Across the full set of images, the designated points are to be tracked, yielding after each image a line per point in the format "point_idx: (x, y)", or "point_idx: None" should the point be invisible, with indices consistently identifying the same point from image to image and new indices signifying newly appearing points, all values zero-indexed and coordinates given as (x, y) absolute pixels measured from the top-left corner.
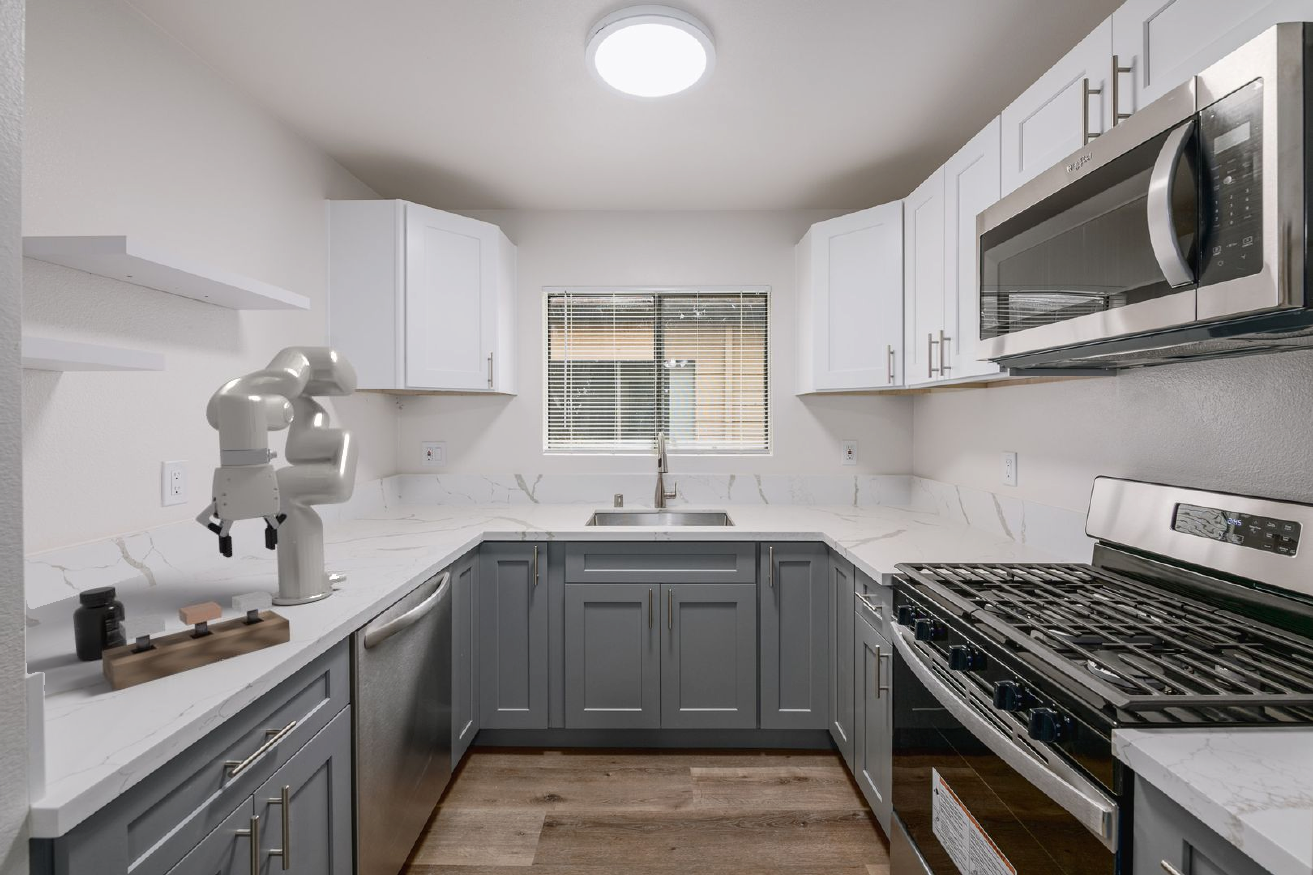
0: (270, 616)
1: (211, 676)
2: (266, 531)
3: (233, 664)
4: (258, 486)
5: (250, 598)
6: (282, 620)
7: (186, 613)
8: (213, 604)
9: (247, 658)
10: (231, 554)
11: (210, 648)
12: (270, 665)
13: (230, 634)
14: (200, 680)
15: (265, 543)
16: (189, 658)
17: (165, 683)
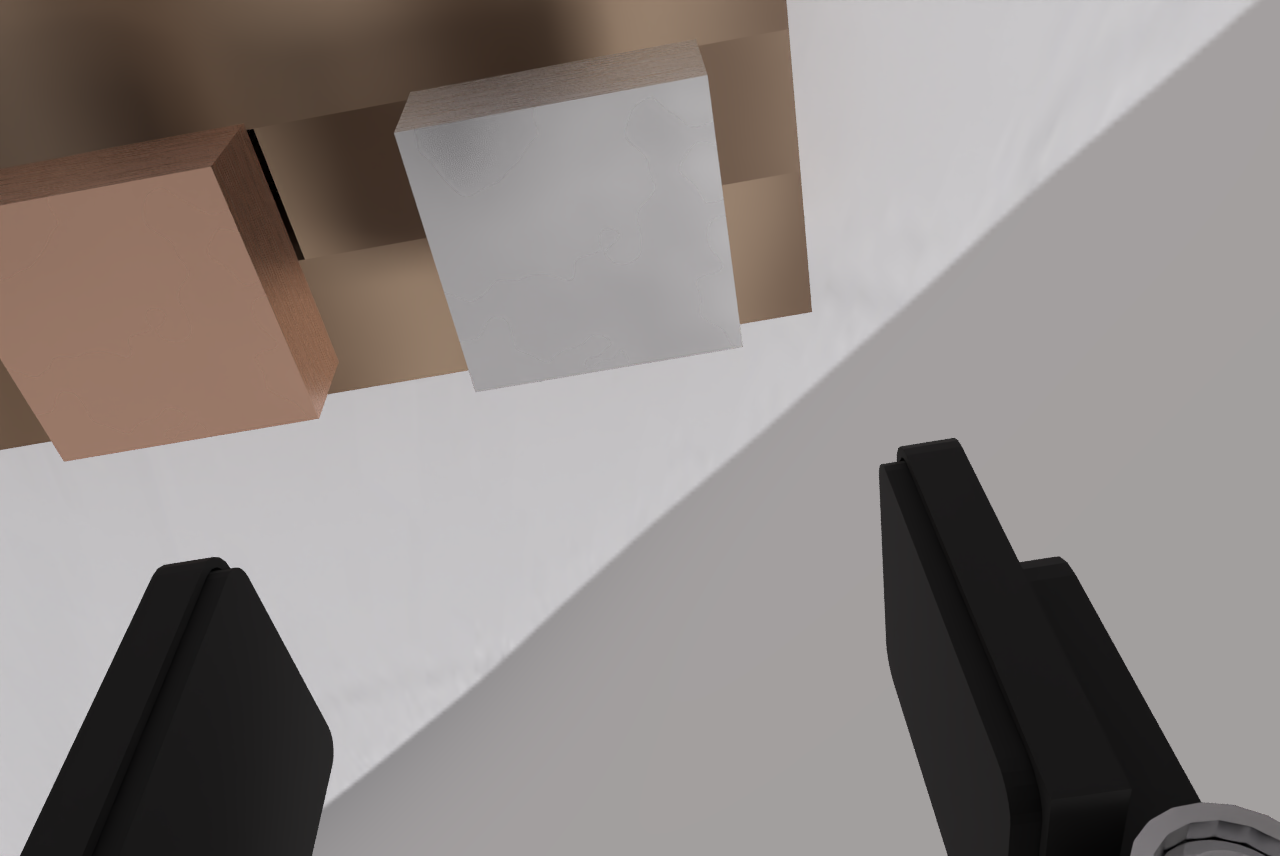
0: (726, 84)
1: (350, 500)
2: (989, 824)
3: (447, 412)
4: None
5: (562, 327)
6: (773, 277)
7: (54, 436)
8: (239, 301)
9: None
10: (317, 770)
11: None
12: (612, 539)
13: (417, 349)
14: (304, 516)
15: (900, 520)
16: None
17: (138, 450)
